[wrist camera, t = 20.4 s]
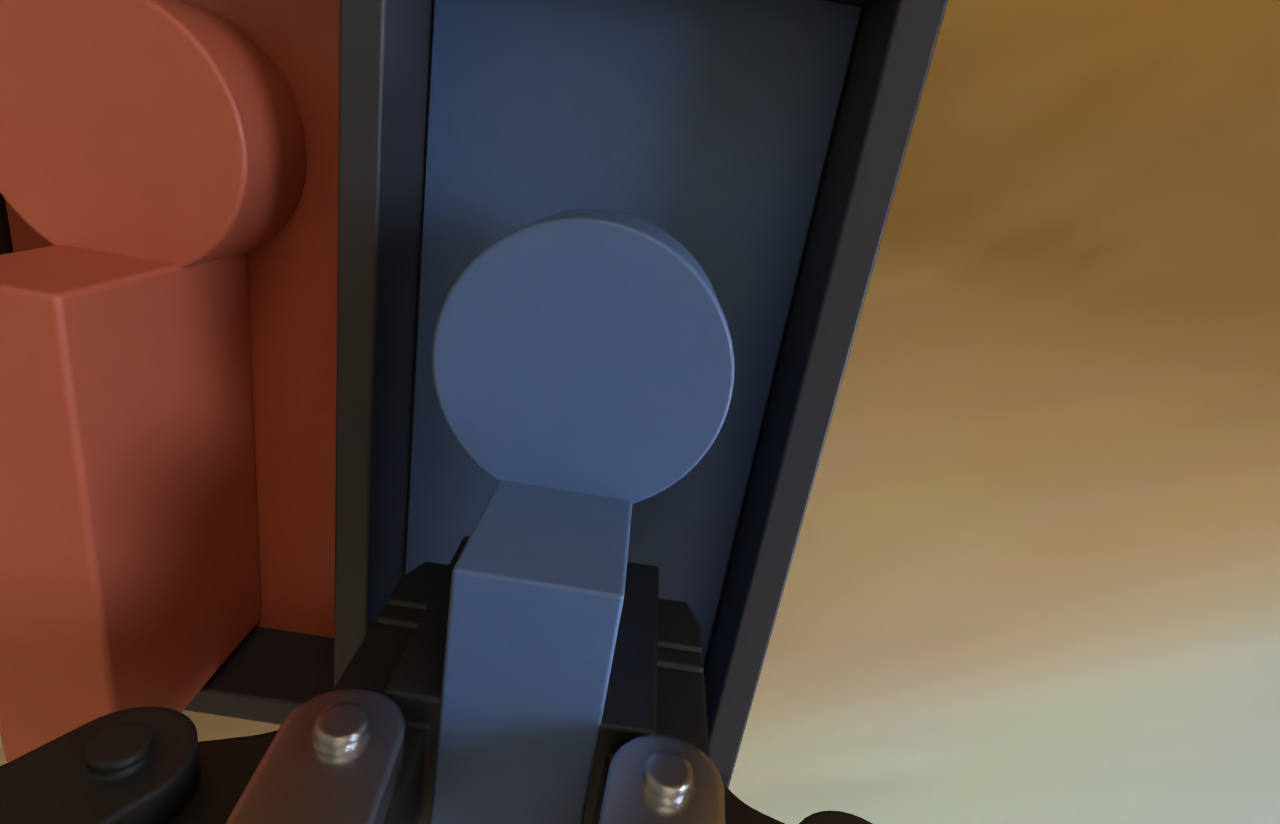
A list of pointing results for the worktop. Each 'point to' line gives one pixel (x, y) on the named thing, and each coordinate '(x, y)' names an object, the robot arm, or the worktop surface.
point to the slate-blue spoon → (560, 488)
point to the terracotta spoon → (130, 351)
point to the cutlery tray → (513, 198)
